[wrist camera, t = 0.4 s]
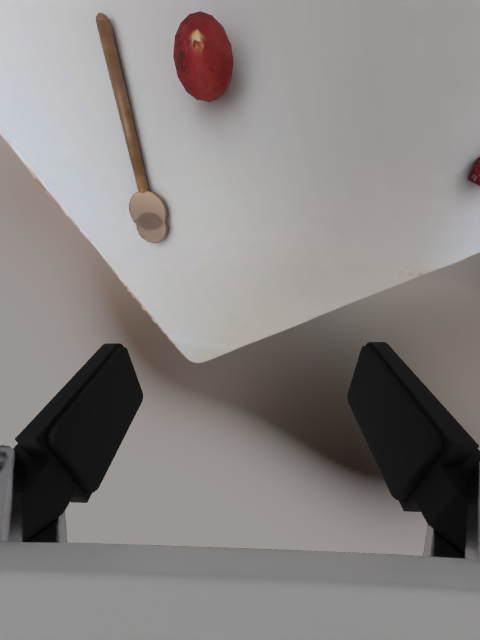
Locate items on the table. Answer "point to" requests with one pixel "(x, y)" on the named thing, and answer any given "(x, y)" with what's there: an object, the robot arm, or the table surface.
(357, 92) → the table surface
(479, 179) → the dice
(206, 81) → the onion
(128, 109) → the spoon
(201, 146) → the table surface
